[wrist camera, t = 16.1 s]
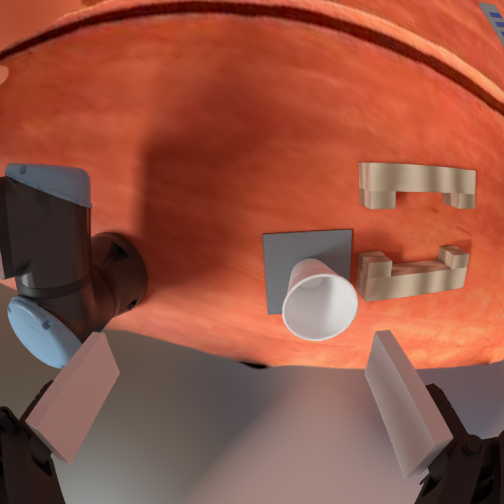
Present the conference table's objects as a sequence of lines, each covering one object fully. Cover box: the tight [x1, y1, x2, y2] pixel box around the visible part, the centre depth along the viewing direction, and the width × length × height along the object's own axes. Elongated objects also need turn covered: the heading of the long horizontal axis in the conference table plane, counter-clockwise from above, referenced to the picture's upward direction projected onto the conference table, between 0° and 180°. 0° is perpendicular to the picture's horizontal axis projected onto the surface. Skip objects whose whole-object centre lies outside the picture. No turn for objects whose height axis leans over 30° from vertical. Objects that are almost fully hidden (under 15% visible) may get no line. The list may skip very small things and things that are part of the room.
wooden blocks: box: [356, 162, 476, 302], centre depth 38 cm, size 21×21×5 cm
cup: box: [282, 258, 358, 341], centre depth 38 cm, size 10×10×11 cm
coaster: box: [263, 229, 352, 315], centre depth 44 cm, size 14×14×1 cm
